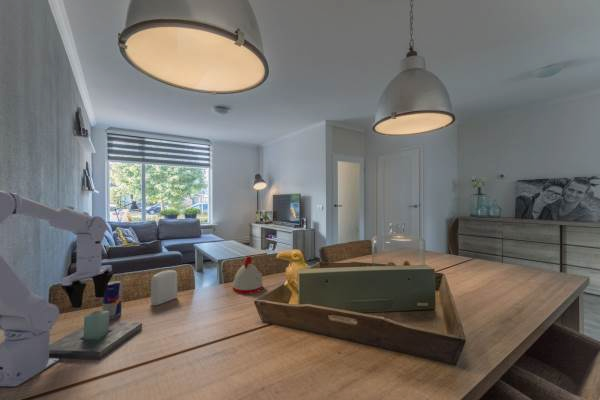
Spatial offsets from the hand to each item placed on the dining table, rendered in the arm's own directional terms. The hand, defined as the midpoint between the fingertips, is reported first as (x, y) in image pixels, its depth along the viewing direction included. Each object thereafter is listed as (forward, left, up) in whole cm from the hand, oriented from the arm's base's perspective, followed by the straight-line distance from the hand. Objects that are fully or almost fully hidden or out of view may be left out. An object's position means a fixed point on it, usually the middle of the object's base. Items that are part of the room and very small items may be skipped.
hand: (88, 302), depth 75 cm
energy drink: (+14, +4, -11) cm, 18 cm away
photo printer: (+29, -6, -11) cm, 31 cm away
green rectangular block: (-2, -4, -11) cm, 12 cm away
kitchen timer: (+47, -36, -11) cm, 60 cm away
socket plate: (-2, -4, -10) cm, 12 cm away
